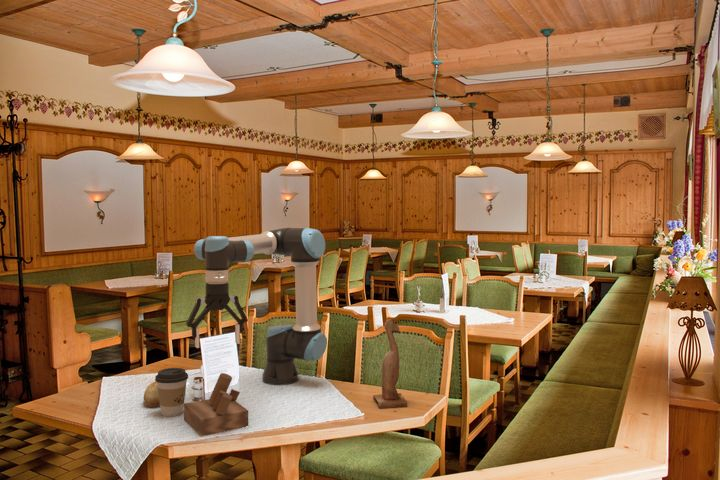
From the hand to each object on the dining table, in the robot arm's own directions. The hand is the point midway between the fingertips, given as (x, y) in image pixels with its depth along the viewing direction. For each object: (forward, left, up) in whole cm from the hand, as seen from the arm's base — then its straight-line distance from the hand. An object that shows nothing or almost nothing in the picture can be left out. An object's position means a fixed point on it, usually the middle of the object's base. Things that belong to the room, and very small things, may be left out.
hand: (217, 345), depth 200 cm
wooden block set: (-1, +1, -21) cm, 21 cm away
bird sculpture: (-63, +8, -27) cm, 69 cm away
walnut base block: (+1, 0, -27) cm, 27 cm away
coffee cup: (+12, -16, -27) cm, 34 cm away
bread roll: (+15, -31, -27) cm, 43 cm away
